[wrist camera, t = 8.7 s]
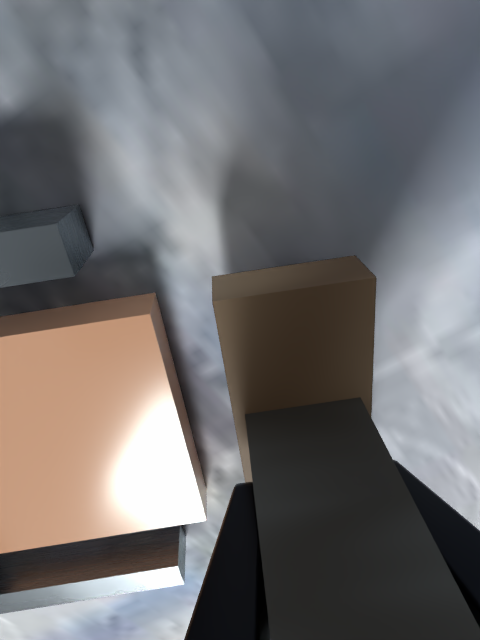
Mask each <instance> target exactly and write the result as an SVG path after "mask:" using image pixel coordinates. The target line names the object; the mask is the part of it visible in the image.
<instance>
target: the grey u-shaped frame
mask: <svg viewBox="0 0 480 640" xmlns="http://www.w3.org/2000/svg"><path fill="white" fill-rule="evenodd" d="M93 251H94V250H93V247H92V244H91V241H90V238H89V234H88V231H87V228H86V225H85V222H84V219H83V216H82V213H81V209H80V206H79V205H74V206H67V207H60V208H54V209H47V210H40V211H33V212H27V213H20V214H13V215H7V216H0V288H3V287H9V286H16V285H23V284H29V283H36V282H42V281H49V280H55V279H62V278H69V277H75V275H76V274H77V273H78V271H79V270H80V269H81V267H82V266H83V264H84V263H85V262H86V260H87V259H88V258H89V256H90V255H91V253H92V252H93ZM185 551H186V537H185V534H184V531H183V528H182V525H177V526H171V527H165V528H158V529H152V530H146V531H140V532H133V533H127V534H121V535H115V536H108V537H102V538H96V539H89V540H83V541H77V542H71V543H64V544H58V545H52V546H46V547H39V548H33V549H27V550H20V551H14V552H8V553H2V554H0V614H3V613H9V612H15V611H21V610H27V609H34V608H40V607H46V606H52V605H59V604H65V603H71V602H77V601H84V600H90V599H96V598H102V597H109V596H115V595H121V594H127V593H133V592H140V591H146V590H152V589H158V588H165V587H171V586H177V585H183V584H184V578H185Z"/></svg>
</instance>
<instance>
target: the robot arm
mask: <svg viewBox="0 0 480 640" xmlns="http://www.w3.org/2000/svg"><path fill="white" fill-rule="evenodd" d="M393 461H394V463H395V465H396V467H397V469H398V471H399V473H400V475H401V477H402V479H403V481H404V483H405V485H406V487H407V488H408V490H409V492H410V494H411V496H412V498H413V500H414V502H415V504H416V506H417V508H418V510H419V512H420V514H421V516H422V518H423V520H424V521H425V523H426V525H427V527H428V529H429V531H430V533H431V535H432V537H433V539H434V541H435V543H436V545H437V547H438V549H439V551H440V552H441V554H442V556H443V558H444V560H445V562H446V564H447V566H448V568H449V570H450V572H451V574H452V576H453V578H454V580H455V582H456V583H457V585H458V587H459V589H460V591H461V593H462V595H463V597H464V599H465V601H466V603H467V605H468V607H469V609H470V611H471V613H472V615H473V616H474V618H475V620H476V622H477V624H478V626H479V628H480V531H479V530H478V529H477V528H476V527H475V526H473V525H472V524H471V523H470V522H469V521H467V520H466V519H465V518H464V517H463V516H462V515H460V514H459V513H458V512H457V511H456V510H454V509H453V508H452V507H451V506H450V505H448V504H447V503H446V502H445V501H444V500H442V499H441V498H440V497H439V496H438V495H437V494H435V493H434V492H433V491H432V490H431V489H429V488H428V487H427V486H426V485H425V484H423V483H422V482H421V481H420V480H419V479H417V478H416V477H415V476H414V475H413V474H412V473H410V472H409V471H408V470H407V469H406V468H404V467H403V466H402V465H401V464H400V463H398V462H397V461H395V460H393ZM184 640H271V637H270V628H269V619H268V611H267V602H266V593H265V585H264V576H263V567H262V559H261V550H260V541H259V533H258V524H257V515H256V507H255V498H254V489H253V482H245V483H239V484H236V485H235V487H234V489H233V492H232V495H231V498H230V501H229V504H228V508H227V511H226V514H225V517H224V520H223V523H222V526H221V529H220V532H219V535H218V538H217V541H216V544H215V547H214V550H213V553H212V556H211V559H210V562H209V566H208V569H207V572H206V575H205V578H204V581H203V584H202V587H201V590H200V593H199V596H198V599H197V602H196V605H195V608H194V611H193V614H192V617H191V620H190V624H189V627H188V630H187V633H186V636H185V639H184Z"/></svg>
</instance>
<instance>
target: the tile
mask: <svg viewBox="0 0 480 640" xmlns="http://www.w3.org/2000/svg"><path fill="white" fill-rule="evenodd" d="M202 521H207V498H206V485H205V482H204V478H203V474H202V470H201V466H200V462H199V458H198V455H197V451H196V447H195V443H194V439H193V435H192V432H191V428H190V424H189V420H188V416H187V412H186V408H185V405H184V401H183V397H182V393H181V389H180V385H179V382H178V378H177V374H176V370H175V366H174V362H173V358H172V355H171V351H170V347H169V343H168V339H167V335H166V332H165V328H164V324H163V320H162V316H161V312H160V308H159V305H158V301H157V297H156V293H149V294H142V295H136V296H129V297H123V298H116V299H110V300H104V301H97V302H91V303H84V304H78V305H72V306H65V307H59V308H52V309H46V310H40V311H33V312H27V313H20V314H14V315H7V316H1V317H0V554H2V553H8V552H14V551H20V550H27V549H33V548H39V547H46V546H52V545H58V544H64V543H71V542H77V541H83V540H89V539H96V538H102V537H108V536H115V535H121V534H127V533H133V532H140V531H146V530H152V529H158V528H165V527H171V526H177V525H184V524H190V523H196V522H202Z"/></svg>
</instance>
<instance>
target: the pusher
mask: <svg viewBox="0 0 480 640" xmlns="http://www.w3.org/2000/svg"><path fill="white" fill-rule="evenodd" d="M375 299H376V277H375V276H374V274H373V273H372V272H371V271H370V270H369V269H368V268H367V267H366V266H365V265H364V264H363V263H362V262H361V261H360V260H359V259H358V258H357V257H356V256H355V255H354V256H347V257H341V258H334V259H327V260H320V261H314V262H307V263H300V264H293V265H287V266H280V267H273V268H266V269H260V270H253V271H246V272H239V273H232V274H226V275H219V276H212V302H213V307H214V313H215V318H216V324H217V329H218V335H219V340H220V346H221V351H222V357H223V362H224V368H225V373H226V379H227V384H228V390H229V395H230V401H231V406H232V412H233V417H234V422H235V428H236V433H237V439H238V444H239V450H240V455H241V461H242V466H243V472H244V477H245V482H253V489H254V498H255V507H256V515H257V524H258V533H259V541H260V550H261V559H262V567H263V576H264V585H265V593H266V602H267V611H268V619H269V628H270V637H271V640H480V628H479V626H478V624H477V622H476V620H475V618H474V616H473V615H472V613H471V611H470V609H469V607H468V605H467V603H466V601H465V599H464V597H463V595H462V593H461V591H460V589H459V587H458V585H457V583H456V582H455V580H454V578H453V576H452V574H451V572H450V570H449V568H448V566H447V564H446V562H445V560H444V558H443V556H442V554H441V552H440V551H439V549H438V547H437V545H436V543H435V541H434V539H433V537H432V535H431V533H430V531H429V529H428V527H427V525H426V523H425V521H424V520H423V518H422V516H421V514H420V512H419V510H418V508H417V506H416V504H415V502H414V500H413V498H412V496H411V494H410V492H409V490H408V488H407V487H406V485H405V483H404V481H403V479H402V477H401V475H400V473H399V471H398V469H397V467H396V465H395V463H394V461H393V459H392V457H391V456H390V454H389V452H388V450H387V448H386V446H385V444H384V442H383V440H382V438H381V436H380V434H379V432H378V430H377V428H376V426H375V424H374V423H373V421H372V419H371V409H372V382H373V354H374V326H375Z"/></svg>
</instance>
